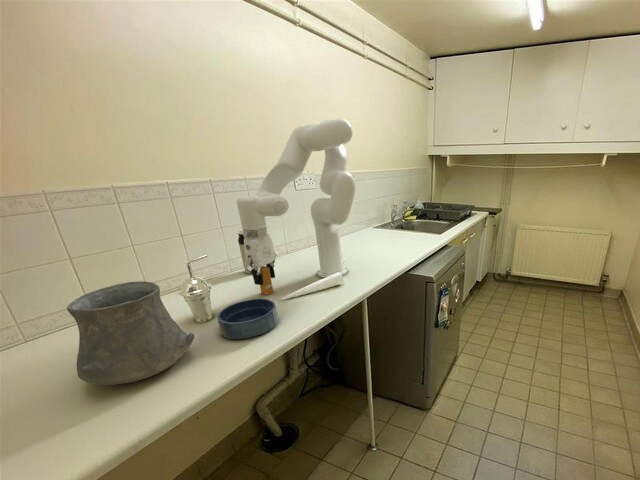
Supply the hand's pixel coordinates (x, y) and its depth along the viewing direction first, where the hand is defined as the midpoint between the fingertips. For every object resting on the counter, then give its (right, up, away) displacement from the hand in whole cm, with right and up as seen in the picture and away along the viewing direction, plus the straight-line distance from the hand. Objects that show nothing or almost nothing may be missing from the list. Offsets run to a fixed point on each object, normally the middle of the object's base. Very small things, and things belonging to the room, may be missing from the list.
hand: (265, 280), depth 114 cm
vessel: (-11, -21, -38) cm, 44 cm away
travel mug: (-16, +4, +24) cm, 29 cm away
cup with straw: (-12, -12, -15) cm, 23 cm away
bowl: (+5, -13, -21) cm, 25 cm away
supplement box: (0, -5, +2) cm, 5 cm away
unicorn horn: (+18, -4, +2) cm, 18 cm away
